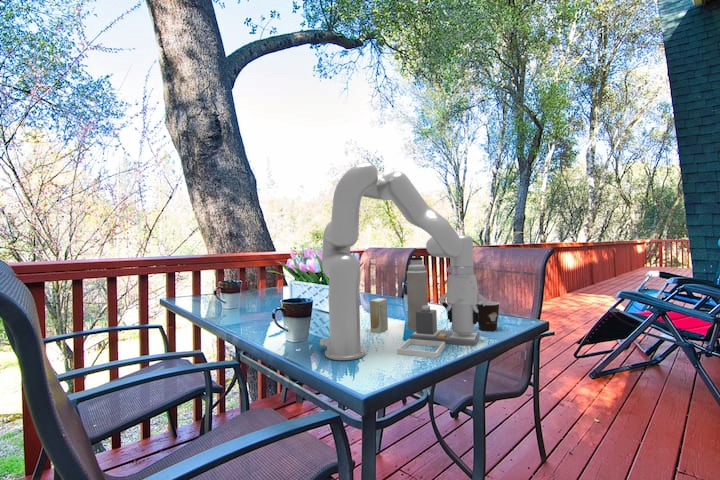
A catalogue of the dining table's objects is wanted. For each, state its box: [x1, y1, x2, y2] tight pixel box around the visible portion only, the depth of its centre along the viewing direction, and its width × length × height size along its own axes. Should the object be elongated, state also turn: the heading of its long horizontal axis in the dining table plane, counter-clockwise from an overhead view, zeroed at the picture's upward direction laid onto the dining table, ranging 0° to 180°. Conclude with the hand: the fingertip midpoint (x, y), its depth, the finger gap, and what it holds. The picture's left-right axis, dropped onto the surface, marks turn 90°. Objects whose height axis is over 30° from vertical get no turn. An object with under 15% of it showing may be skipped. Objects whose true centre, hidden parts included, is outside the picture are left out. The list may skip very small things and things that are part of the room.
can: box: [451, 299, 476, 334], centre depth 128 cm, size 8×8×12 cm
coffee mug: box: [477, 300, 500, 332], centre depth 143 cm, size 12×9×10 cm
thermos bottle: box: [406, 256, 429, 331], centre depth 147 cm, size 8×8×28 cm
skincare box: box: [369, 297, 389, 334], centre depth 144 cm, size 6×4×12 cm
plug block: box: [415, 304, 438, 335], centre depth 134 cm, size 6×6×9 cm
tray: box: [396, 338, 446, 359], centre depth 118 cm, size 12×12×2 cm
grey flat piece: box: [409, 329, 481, 347], centre depth 131 cm, size 22×12×2 cm, turn 65°
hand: (463, 322), depth 128 cm, fingers closed on can, 7 cm apart
